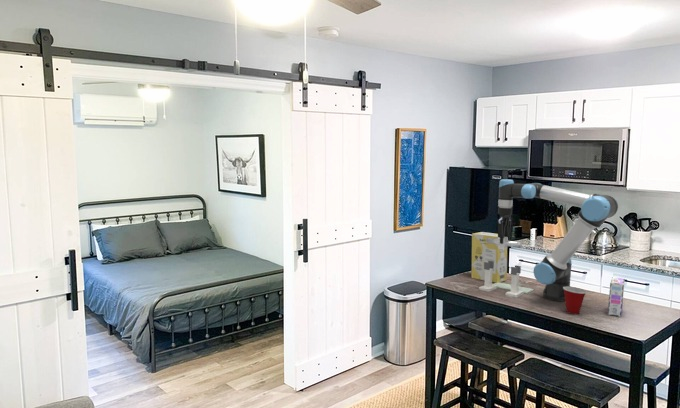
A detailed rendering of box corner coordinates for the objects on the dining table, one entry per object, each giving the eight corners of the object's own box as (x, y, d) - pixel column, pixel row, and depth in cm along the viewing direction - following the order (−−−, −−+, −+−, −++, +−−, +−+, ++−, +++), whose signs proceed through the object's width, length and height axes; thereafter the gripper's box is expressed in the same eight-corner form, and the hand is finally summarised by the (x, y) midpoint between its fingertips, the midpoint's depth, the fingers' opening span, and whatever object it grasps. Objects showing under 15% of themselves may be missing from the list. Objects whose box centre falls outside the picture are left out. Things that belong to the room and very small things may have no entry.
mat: (534, 290, 288) (534, 289, 288) (526, 293, 281) (526, 292, 281) (498, 283, 303) (498, 282, 303) (490, 286, 296) (490, 285, 296)
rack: (523, 294, 280) (525, 266, 278) (515, 297, 273) (517, 269, 271) (487, 286, 295) (488, 259, 293) (478, 289, 288) (480, 262, 286)
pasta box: (506, 280, 308) (507, 234, 305) (497, 282, 301) (498, 236, 299) (481, 275, 321) (481, 232, 319) (471, 277, 315) (472, 233, 312)
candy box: (621, 317, 243) (623, 284, 241) (607, 315, 246) (609, 282, 244) (622, 309, 254) (625, 278, 252) (609, 307, 257) (611, 276, 256)
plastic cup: (589, 316, 244) (591, 292, 242) (567, 315, 244) (568, 291, 243) (579, 308, 255) (581, 285, 253) (558, 308, 255) (559, 285, 254)
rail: (522, 247, 275) (522, 241, 275) (519, 248, 273) (519, 243, 272) (488, 242, 289) (488, 237, 288) (485, 243, 287) (485, 238, 286)
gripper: (505, 205, 287) (503, 245, 289) (492, 207, 275) (490, 249, 278) (517, 206, 282) (515, 247, 284) (505, 208, 270) (503, 251, 273)
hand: (503, 248), depth 281 cm, fingers closed on rail, 3 cm apart
